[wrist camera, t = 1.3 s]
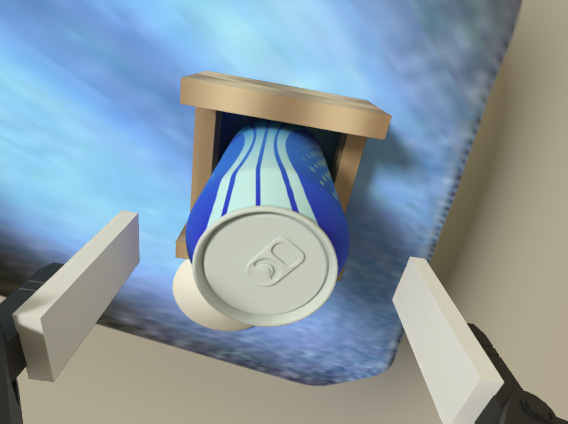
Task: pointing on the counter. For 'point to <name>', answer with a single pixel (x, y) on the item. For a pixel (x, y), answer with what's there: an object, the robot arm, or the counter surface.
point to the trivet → (199, 302)
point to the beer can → (268, 227)
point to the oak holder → (280, 107)
